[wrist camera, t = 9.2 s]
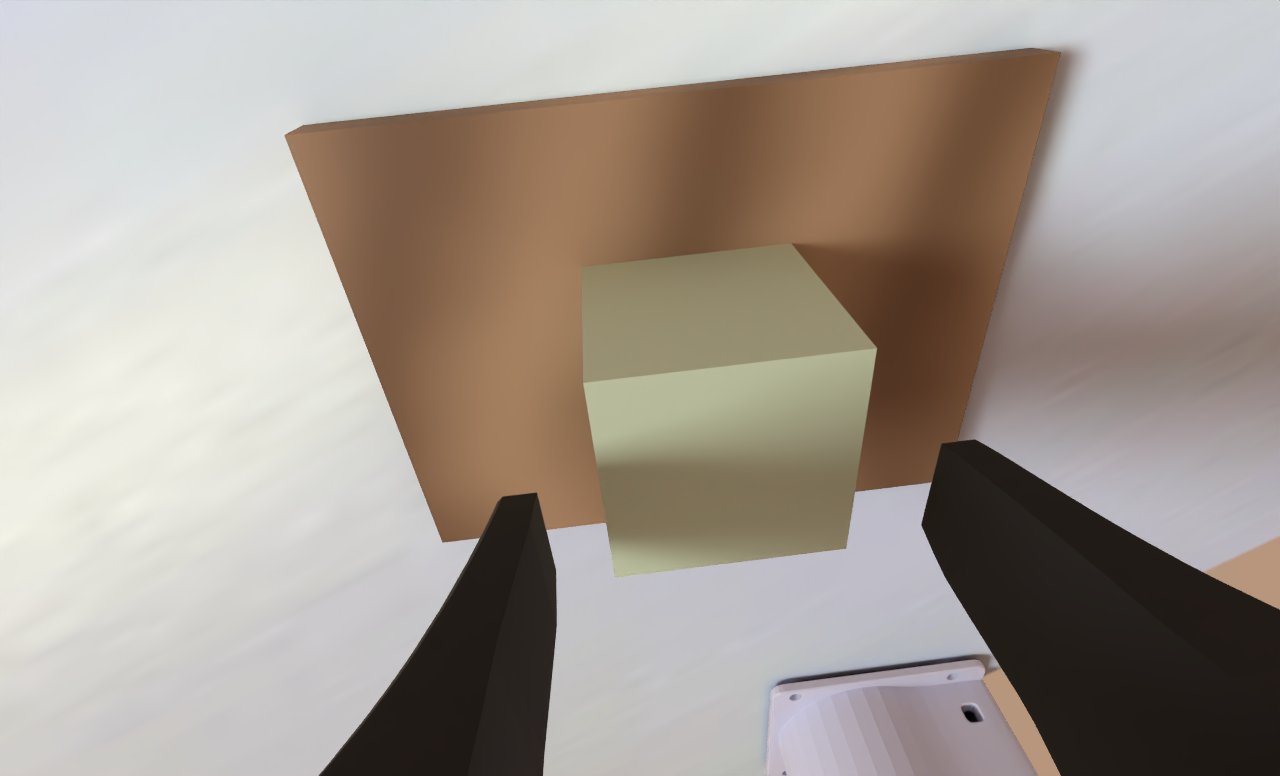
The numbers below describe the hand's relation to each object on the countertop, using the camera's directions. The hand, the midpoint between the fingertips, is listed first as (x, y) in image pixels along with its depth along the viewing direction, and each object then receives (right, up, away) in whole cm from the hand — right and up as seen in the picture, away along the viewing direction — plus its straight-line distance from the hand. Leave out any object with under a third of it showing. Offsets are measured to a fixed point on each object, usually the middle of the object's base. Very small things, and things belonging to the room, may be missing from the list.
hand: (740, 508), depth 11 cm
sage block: (0, +3, +5) cm, 6 cm away
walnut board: (-1, +4, +6) cm, 7 cm away
